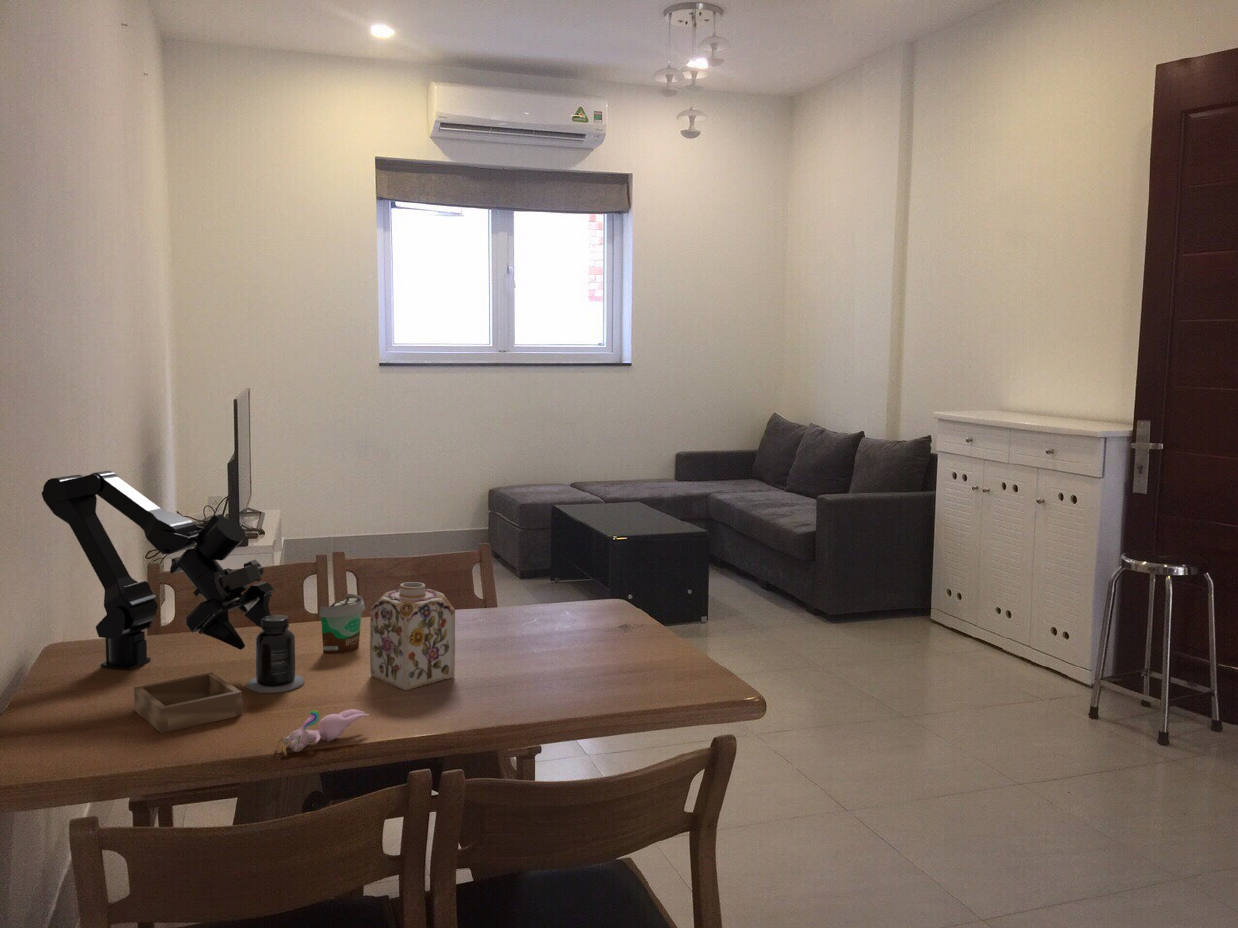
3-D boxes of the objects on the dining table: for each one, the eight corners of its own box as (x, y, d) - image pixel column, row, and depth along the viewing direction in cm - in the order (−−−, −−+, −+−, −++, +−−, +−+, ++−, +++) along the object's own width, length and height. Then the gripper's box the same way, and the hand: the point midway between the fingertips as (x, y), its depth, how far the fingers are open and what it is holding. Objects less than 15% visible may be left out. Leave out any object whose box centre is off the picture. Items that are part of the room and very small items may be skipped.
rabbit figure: (291, 767, 152) (378, 728, 162) (284, 731, 151) (372, 694, 161) (272, 755, 157) (358, 717, 167) (266, 720, 155) (352, 684, 165)
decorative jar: (368, 676, 190) (368, 583, 188) (419, 663, 199) (419, 574, 197) (405, 692, 182) (406, 595, 180) (457, 678, 191) (457, 585, 189)
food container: (348, 658, 201) (347, 609, 200) (319, 655, 202) (319, 607, 201) (375, 641, 213) (375, 595, 212) (348, 638, 214) (347, 592, 213)
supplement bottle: (300, 676, 188) (300, 613, 187) (287, 688, 181) (287, 623, 180) (263, 674, 188) (263, 611, 187) (249, 686, 182) (249, 621, 180)
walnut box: (134, 710, 170) (134, 687, 169) (212, 694, 179) (212, 672, 178) (161, 733, 160) (160, 708, 160) (242, 714, 169) (241, 691, 169)
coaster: (235, 690, 181) (235, 687, 181) (266, 673, 191) (266, 671, 190) (285, 695, 179) (285, 693, 179) (314, 678, 188) (314, 676, 188)
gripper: (199, 558, 175) (253, 627, 174) (265, 539, 193) (315, 602, 191) (162, 597, 178) (215, 666, 177) (230, 575, 196) (279, 637, 195)
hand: (259, 641), depth 185 cm, fingers open, 9 cm apart
